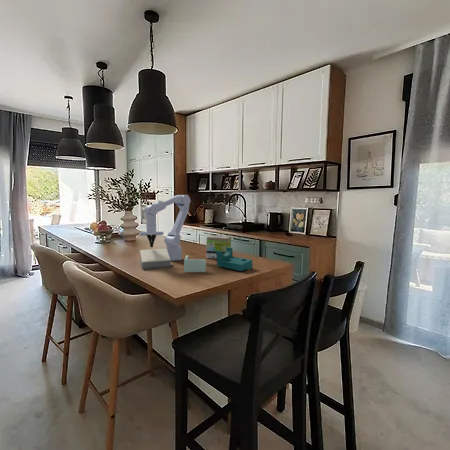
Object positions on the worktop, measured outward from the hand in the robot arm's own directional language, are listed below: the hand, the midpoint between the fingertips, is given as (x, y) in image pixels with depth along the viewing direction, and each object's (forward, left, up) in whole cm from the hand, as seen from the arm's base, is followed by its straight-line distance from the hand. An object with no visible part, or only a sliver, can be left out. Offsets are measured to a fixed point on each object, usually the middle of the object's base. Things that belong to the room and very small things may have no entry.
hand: (151, 246), depth 175 cm
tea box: (-45, -2, -11) cm, 46 cm away
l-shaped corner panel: (-22, +23, -11) cm, 34 cm away
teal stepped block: (-44, +28, -11) cm, 53 cm away
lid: (-1, +6, -4) cm, 8 cm away
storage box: (-1, +6, -11) cm, 12 cm away
